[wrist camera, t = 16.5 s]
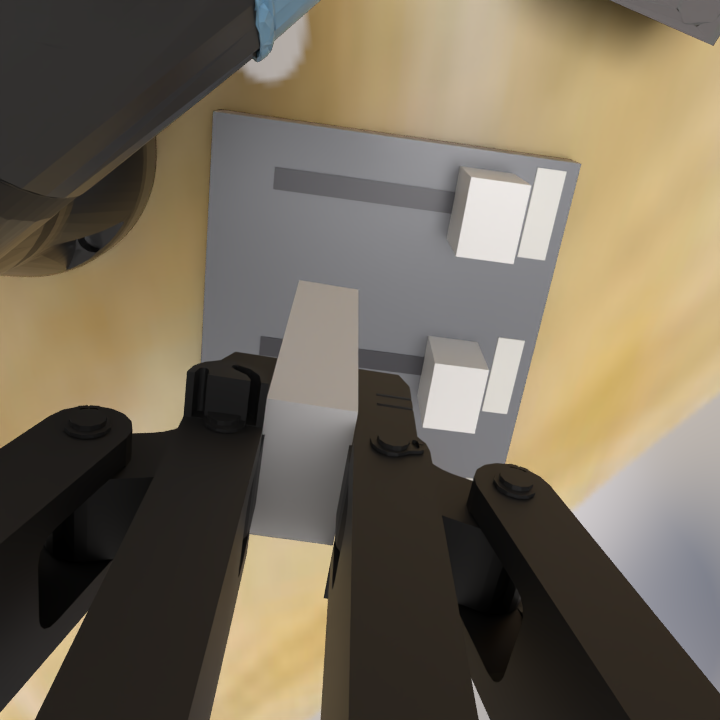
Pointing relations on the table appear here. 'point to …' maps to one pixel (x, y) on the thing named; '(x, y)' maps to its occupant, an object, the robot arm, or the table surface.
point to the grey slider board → (391, 261)
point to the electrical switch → (682, 15)
